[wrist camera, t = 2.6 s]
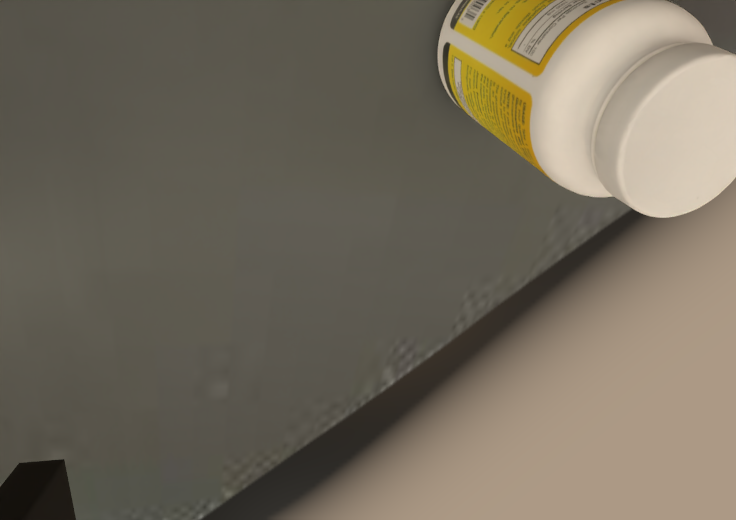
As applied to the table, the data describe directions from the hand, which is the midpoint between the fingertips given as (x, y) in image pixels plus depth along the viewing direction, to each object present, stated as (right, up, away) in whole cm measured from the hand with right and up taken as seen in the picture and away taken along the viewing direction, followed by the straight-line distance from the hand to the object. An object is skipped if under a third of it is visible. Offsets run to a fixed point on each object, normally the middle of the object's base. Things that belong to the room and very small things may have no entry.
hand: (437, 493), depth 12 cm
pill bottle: (+4, +13, +15) cm, 20 cm away
